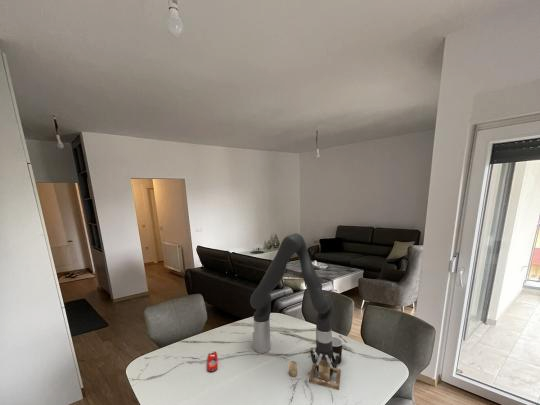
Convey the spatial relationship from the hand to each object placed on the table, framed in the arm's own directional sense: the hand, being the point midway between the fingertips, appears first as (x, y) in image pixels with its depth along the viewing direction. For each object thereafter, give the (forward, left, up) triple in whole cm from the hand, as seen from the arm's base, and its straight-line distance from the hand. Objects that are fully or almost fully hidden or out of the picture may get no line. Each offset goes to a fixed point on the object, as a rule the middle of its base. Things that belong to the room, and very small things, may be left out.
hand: (324, 373), depth 111 cm
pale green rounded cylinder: (-4, +12, -2) cm, 13 cm away
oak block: (0, 0, -1) cm, 2 cm away
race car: (-57, -9, -2) cm, 58 cm away
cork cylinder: (-15, -3, -2) cm, 15 cm away
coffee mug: (+3, +15, -2) cm, 15 cm away
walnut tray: (0, 0, -2) cm, 2 cm away
